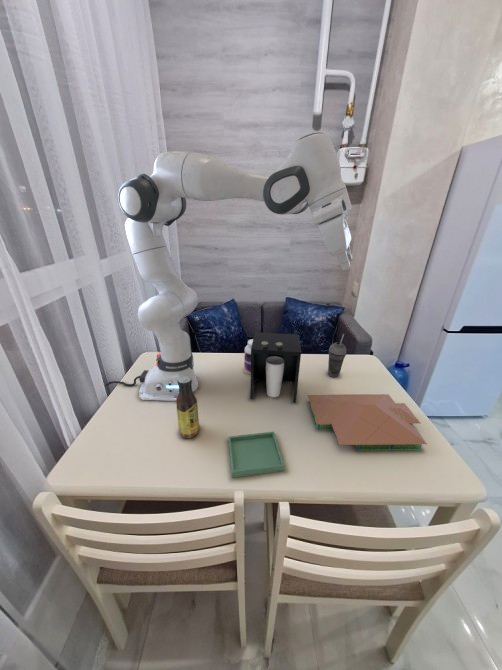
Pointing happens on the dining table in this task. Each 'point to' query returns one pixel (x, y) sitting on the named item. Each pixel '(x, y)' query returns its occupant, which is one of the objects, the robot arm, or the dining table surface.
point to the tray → (254, 454)
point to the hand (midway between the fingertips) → (348, 265)
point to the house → (367, 420)
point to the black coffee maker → (275, 346)
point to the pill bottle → (248, 357)
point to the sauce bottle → (187, 408)
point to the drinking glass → (274, 375)
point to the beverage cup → (336, 358)
